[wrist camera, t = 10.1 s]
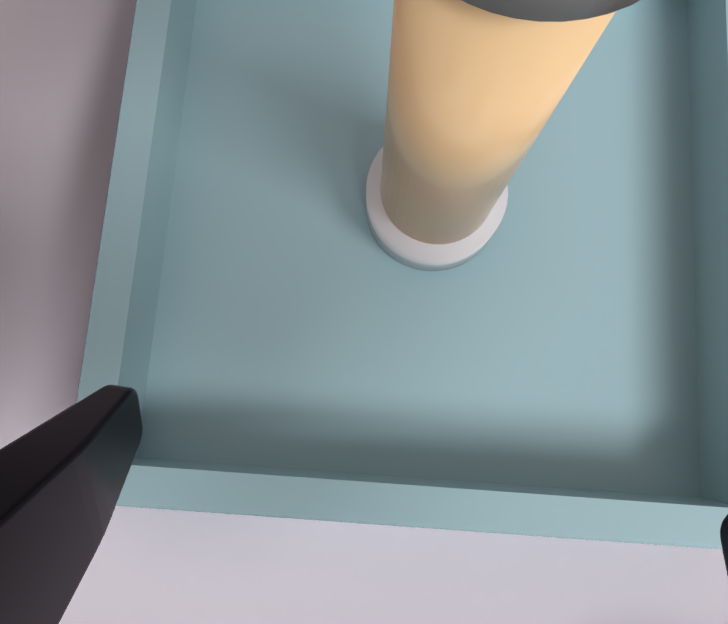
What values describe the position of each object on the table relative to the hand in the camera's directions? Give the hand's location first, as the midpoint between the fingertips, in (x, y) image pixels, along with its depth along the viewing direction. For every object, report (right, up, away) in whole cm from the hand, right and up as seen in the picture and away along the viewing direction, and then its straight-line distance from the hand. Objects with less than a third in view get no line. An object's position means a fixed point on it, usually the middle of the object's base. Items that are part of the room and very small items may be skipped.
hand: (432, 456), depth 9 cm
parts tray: (+1, +5, +10) cm, 12 cm away
